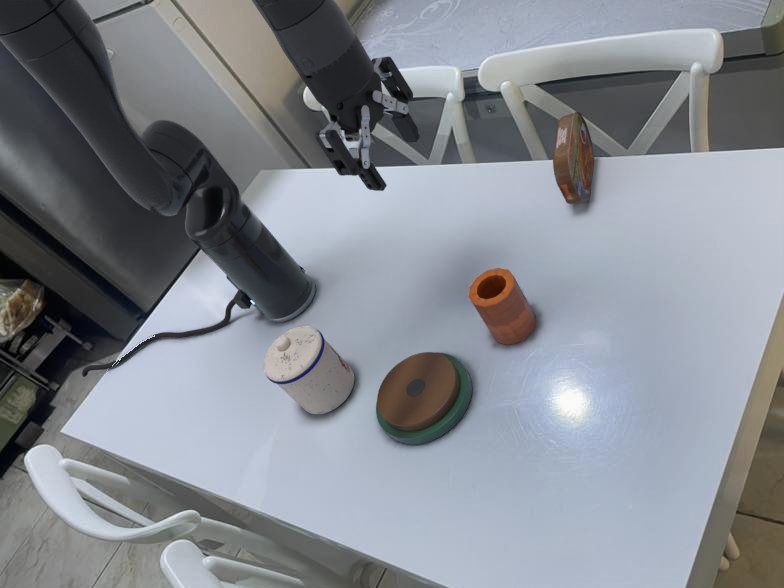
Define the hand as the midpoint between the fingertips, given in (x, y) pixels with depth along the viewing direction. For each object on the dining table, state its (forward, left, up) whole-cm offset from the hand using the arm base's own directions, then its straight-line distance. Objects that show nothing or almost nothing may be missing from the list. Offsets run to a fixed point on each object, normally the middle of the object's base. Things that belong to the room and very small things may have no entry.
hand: (396, 164), depth 87 cm
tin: (+14, +17, -21) cm, 31 cm away
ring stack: (+2, -22, -21) cm, 30 cm away
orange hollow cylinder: (+11, -10, -21) cm, 25 cm away
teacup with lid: (-16, -21, -21) cm, 33 cm away
